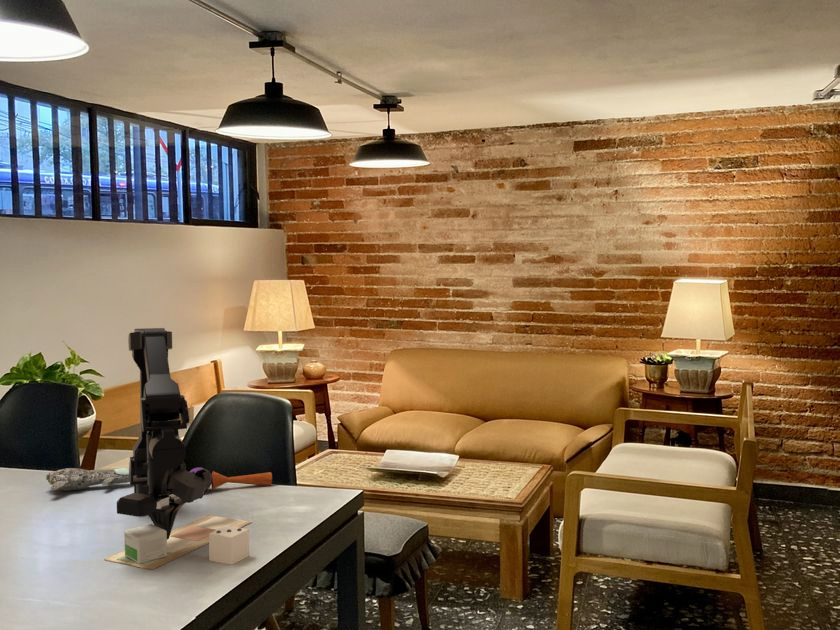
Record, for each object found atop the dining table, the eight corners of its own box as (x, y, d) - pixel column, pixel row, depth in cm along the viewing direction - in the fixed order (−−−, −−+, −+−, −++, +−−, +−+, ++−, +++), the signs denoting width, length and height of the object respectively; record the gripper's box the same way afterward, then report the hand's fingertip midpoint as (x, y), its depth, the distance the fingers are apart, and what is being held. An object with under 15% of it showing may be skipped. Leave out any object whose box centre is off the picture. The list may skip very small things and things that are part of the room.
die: (209, 560, 148) (209, 531, 147) (226, 552, 152) (226, 523, 152) (232, 565, 145) (231, 535, 145) (249, 556, 150) (248, 527, 150)
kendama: (274, 472, 195) (188, 474, 188) (271, 495, 197) (185, 498, 189) (269, 462, 201) (185, 463, 193) (266, 485, 202) (182, 487, 194)
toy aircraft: (137, 494, 190) (137, 472, 190) (43, 502, 183) (42, 478, 183) (137, 477, 205) (137, 456, 205) (50, 484, 199) (49, 462, 199)
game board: (104, 560, 147) (104, 558, 147) (208, 515, 174) (208, 514, 174) (151, 569, 143) (151, 568, 143) (251, 522, 169) (251, 521, 169)
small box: (123, 556, 148) (123, 530, 148) (153, 549, 152) (153, 523, 152) (138, 564, 144) (137, 537, 144) (168, 556, 148) (167, 530, 148)
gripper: (162, 473, 141) (165, 562, 141) (229, 450, 158) (231, 530, 159) (113, 467, 145) (115, 553, 146) (183, 445, 162) (185, 523, 163)
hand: (165, 539), depth 153 cm, fingers closed
